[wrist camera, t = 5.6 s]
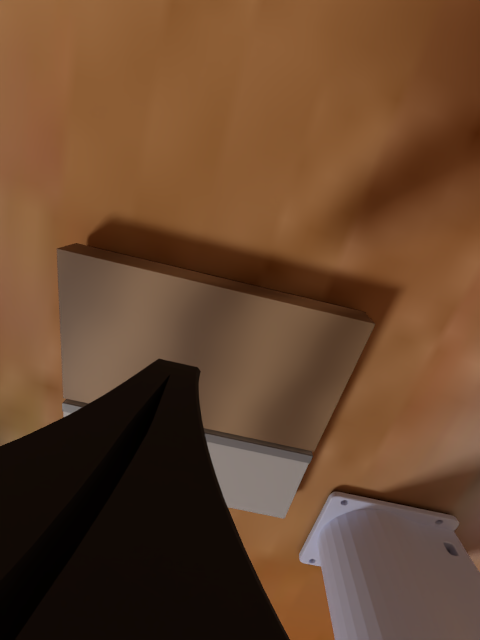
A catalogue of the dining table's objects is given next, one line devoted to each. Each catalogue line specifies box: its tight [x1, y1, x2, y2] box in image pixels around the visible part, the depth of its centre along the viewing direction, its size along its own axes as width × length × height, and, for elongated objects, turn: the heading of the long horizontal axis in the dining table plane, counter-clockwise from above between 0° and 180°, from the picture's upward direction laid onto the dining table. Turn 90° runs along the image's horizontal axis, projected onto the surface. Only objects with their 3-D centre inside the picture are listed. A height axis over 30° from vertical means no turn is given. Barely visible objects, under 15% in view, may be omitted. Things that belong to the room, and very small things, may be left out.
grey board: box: [62, 399, 313, 518], centre depth 18 cm, size 15×6×2 cm, turn 77°
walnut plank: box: [57, 243, 375, 451], centre depth 15 cm, size 15×9×2 cm, turn 77°
